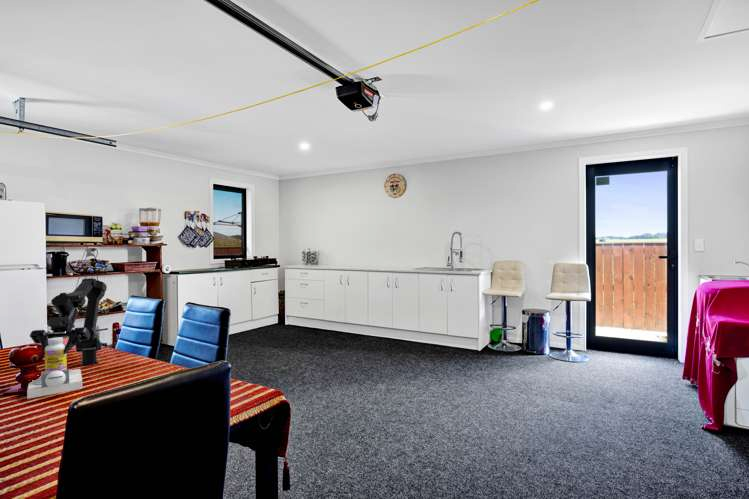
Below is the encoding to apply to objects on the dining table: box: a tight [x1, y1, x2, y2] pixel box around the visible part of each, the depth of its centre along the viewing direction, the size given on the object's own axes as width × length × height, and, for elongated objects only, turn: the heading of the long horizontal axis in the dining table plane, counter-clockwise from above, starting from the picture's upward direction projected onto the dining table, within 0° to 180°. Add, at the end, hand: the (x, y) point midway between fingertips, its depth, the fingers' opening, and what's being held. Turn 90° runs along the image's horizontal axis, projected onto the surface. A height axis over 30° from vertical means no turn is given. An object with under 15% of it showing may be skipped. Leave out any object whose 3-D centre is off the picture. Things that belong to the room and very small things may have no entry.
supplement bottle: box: [44, 337, 68, 373], centre depth 157 cm, size 7×7×13 cm
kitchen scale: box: [26, 368, 83, 400], centre depth 156 cm, size 21×16×8 cm
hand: (54, 353), depth 156 cm, fingers closed on supplement bottle, 7 cm apart
